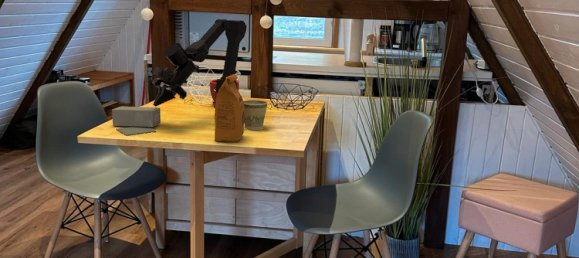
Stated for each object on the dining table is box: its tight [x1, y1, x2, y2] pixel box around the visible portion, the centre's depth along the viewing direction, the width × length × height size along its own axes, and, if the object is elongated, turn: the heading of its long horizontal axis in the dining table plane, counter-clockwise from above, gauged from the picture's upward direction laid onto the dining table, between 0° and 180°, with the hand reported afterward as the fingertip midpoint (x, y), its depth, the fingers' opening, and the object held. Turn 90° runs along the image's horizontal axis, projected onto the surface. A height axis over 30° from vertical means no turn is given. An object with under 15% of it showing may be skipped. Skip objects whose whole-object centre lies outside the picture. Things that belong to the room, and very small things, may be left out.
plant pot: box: [209, 79, 240, 107], centre depth 235 cm, size 13×13×12 cm
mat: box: [115, 126, 157, 137], centre depth 187 cm, size 11×10×1 cm
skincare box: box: [111, 105, 162, 128], centre depth 194 cm, size 8×7×16 cm
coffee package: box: [214, 73, 245, 142], centre depth 178 cm, size 10×12×22 cm
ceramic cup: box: [243, 99, 268, 131], centre depth 197 cm, size 13×10×10 cm
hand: (154, 105), depth 189 cm, fingers closed
